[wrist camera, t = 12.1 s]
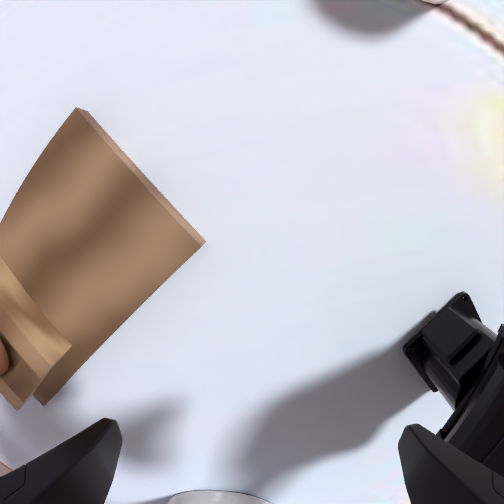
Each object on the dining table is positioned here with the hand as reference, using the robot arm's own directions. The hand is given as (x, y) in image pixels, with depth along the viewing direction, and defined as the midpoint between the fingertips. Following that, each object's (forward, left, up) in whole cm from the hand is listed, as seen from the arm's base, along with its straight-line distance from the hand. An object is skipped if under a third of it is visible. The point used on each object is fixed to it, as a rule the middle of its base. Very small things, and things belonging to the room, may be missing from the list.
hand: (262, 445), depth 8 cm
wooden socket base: (+11, +11, -12) cm, 20 cm away
